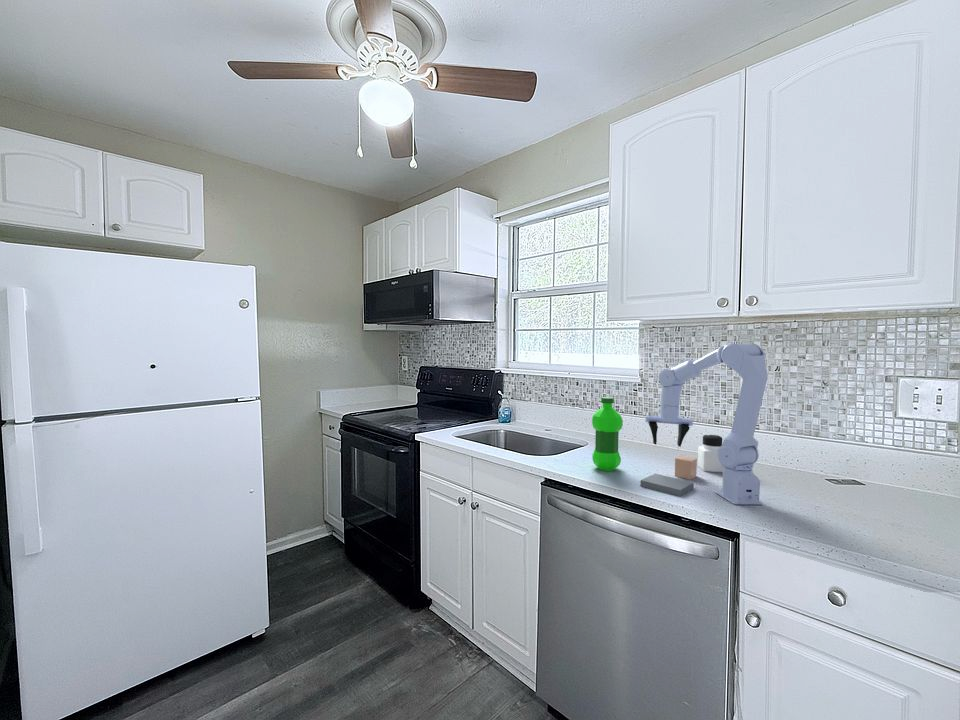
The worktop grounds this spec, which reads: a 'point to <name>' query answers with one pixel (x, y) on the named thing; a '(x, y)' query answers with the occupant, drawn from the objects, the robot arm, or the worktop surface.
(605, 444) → the plastic bottle
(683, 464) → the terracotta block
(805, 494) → the worktop surface
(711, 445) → the medicine bottle
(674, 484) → the charcoal base
